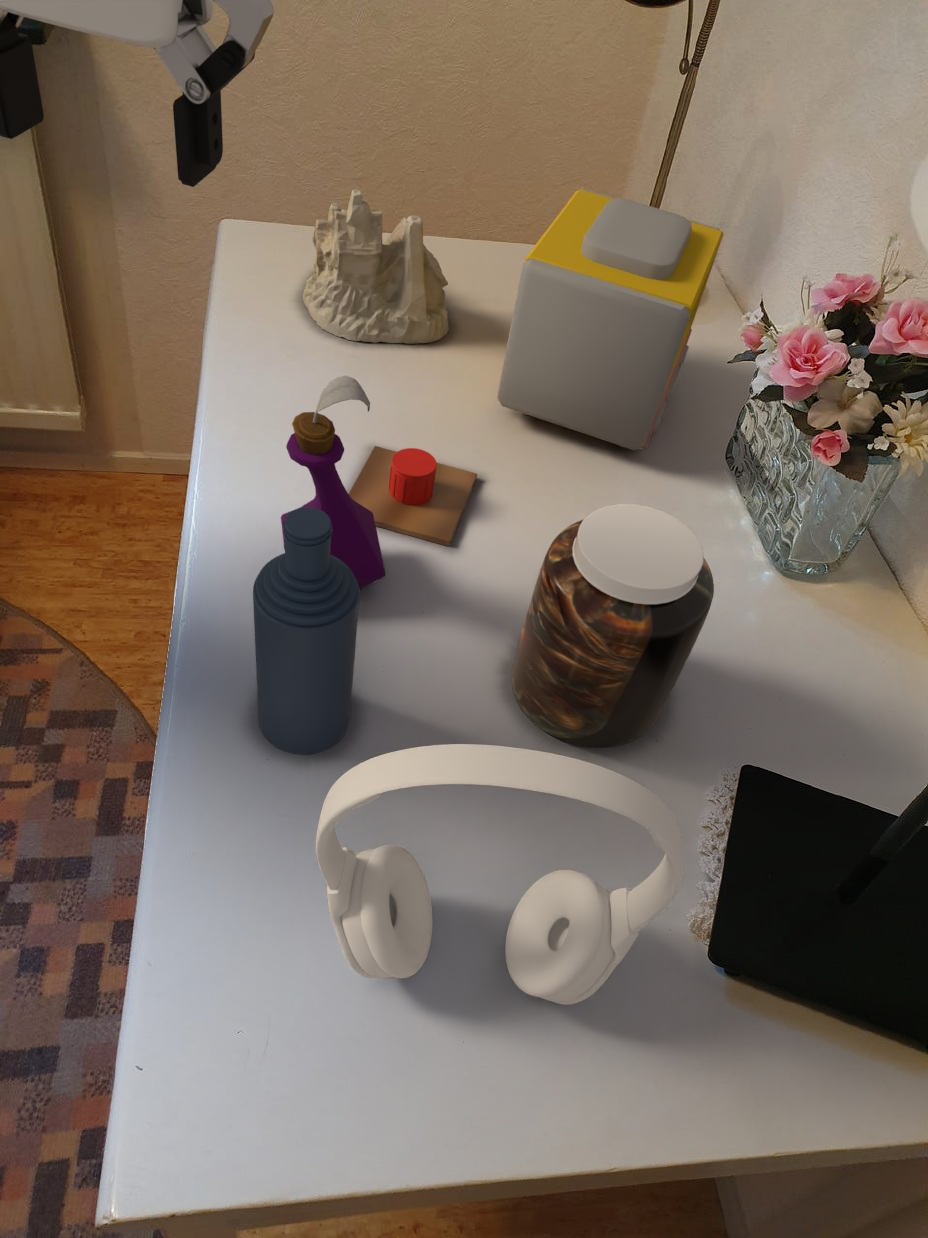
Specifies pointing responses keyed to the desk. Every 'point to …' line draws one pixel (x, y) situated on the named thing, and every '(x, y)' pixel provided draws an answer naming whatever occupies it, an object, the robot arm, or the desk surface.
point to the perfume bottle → (336, 484)
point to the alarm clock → (606, 317)
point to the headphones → (547, 913)
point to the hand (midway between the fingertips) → (110, 152)
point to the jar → (611, 625)
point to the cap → (412, 476)
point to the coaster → (420, 520)
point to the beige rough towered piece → (375, 279)
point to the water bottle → (305, 638)
